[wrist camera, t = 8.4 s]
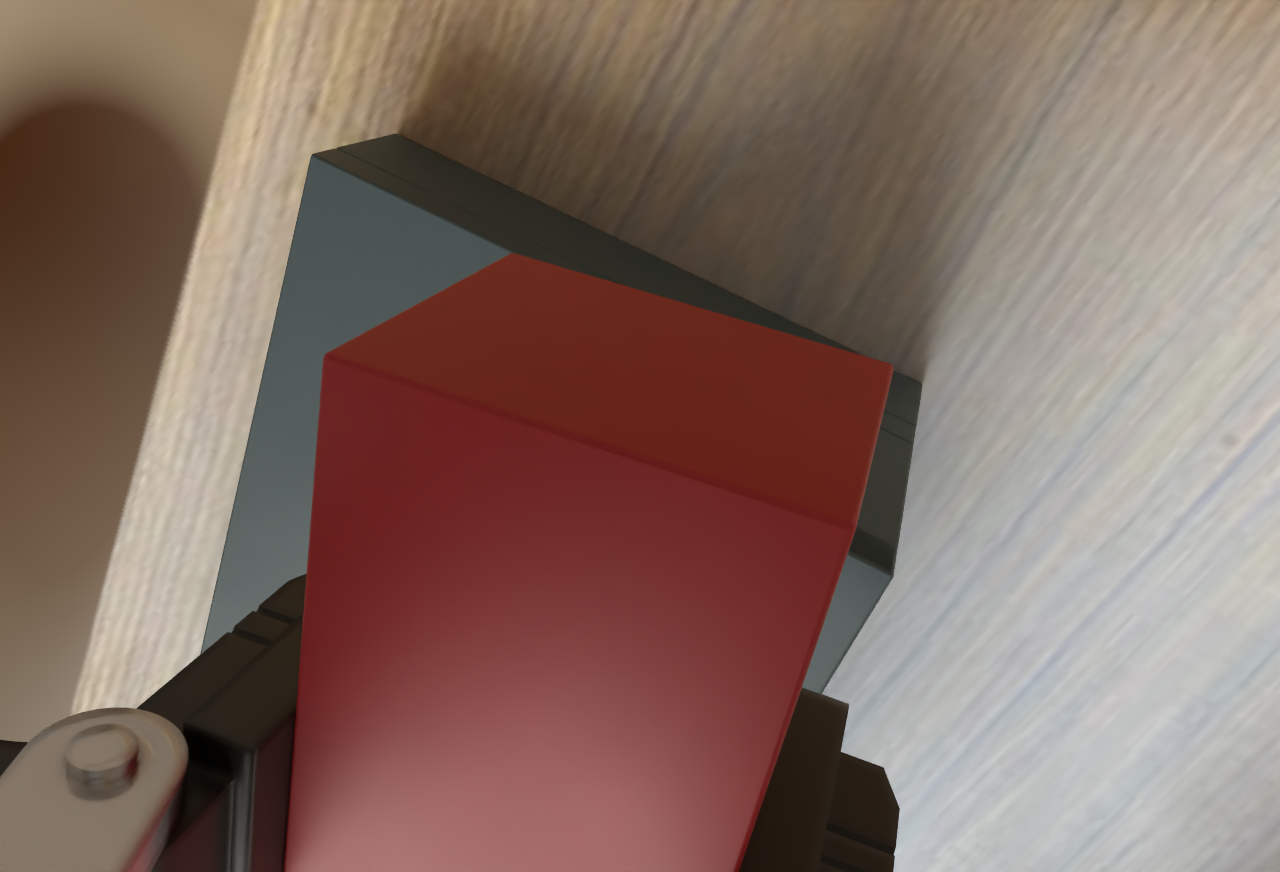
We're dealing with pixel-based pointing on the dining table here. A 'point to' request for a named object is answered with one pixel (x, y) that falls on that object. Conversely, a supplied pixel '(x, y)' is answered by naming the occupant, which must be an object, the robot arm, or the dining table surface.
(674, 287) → the shelf
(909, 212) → the dining table surface
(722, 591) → the red rectangular block
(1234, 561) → the dining table surface
